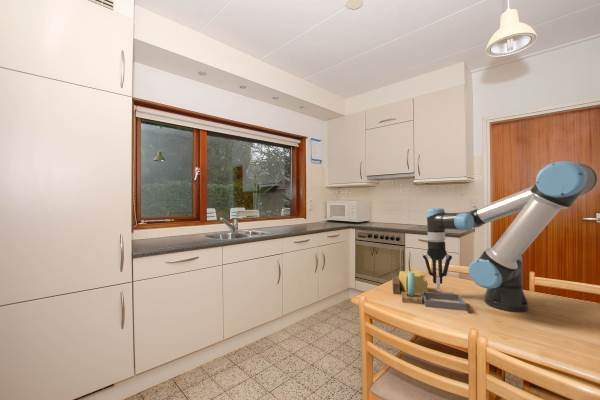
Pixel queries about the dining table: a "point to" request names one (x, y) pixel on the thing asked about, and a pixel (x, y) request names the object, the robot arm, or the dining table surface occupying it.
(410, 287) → the dowel
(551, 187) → the robot arm
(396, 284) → the bar
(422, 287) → the cheese
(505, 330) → the dining table surface
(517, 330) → the dining table surface
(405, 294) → the holder
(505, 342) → the dining table surface
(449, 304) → the tray
